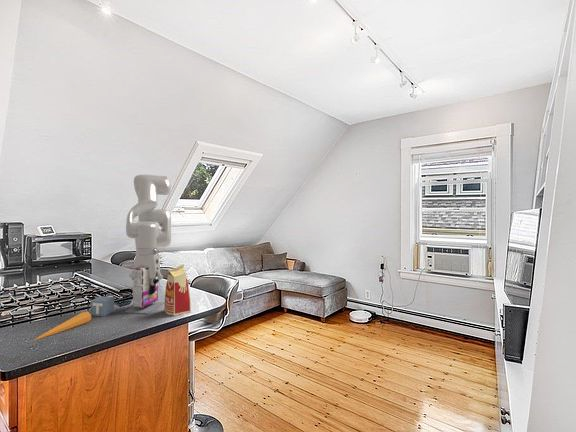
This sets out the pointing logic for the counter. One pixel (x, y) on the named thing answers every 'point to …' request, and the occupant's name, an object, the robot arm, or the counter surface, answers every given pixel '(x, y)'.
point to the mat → (144, 308)
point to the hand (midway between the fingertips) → (145, 292)
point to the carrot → (69, 324)
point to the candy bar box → (142, 288)
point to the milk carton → (177, 292)
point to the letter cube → (102, 306)
